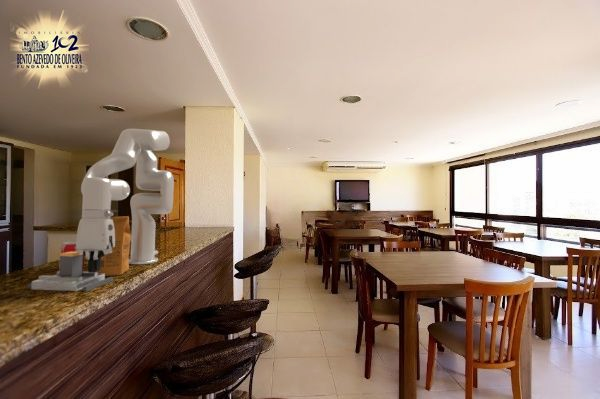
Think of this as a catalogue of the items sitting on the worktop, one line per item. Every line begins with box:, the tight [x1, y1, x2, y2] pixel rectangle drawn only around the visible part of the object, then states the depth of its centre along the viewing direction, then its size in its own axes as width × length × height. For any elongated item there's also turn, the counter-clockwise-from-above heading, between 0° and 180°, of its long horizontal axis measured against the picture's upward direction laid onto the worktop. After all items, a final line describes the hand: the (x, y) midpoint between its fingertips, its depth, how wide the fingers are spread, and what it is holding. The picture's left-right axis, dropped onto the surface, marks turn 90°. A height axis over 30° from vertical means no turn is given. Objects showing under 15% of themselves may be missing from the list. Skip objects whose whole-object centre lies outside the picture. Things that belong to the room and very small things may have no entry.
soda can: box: [58, 241, 85, 272], centre depth 103 cm, size 7×7×12 cm
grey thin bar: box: [81, 276, 115, 292], centre depth 91 cm, size 12×1×1 cm, turn 179°
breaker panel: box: [30, 270, 106, 292], centre depth 91 cm, size 12×14×3 cm
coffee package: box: [96, 215, 131, 277], centre depth 107 cm, size 10×12×22 cm
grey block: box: [59, 252, 83, 277], centre depth 92 cm, size 4×4×8 cm
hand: (94, 271), depth 91 cm, fingers closed
